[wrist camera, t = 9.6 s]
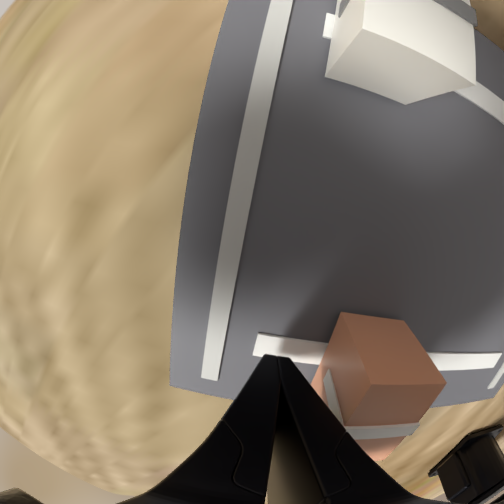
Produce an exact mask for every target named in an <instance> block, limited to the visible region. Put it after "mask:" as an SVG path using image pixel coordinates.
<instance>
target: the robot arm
mask: <svg viewBox="0 0 504 504" xmlns="http://www.w3.org/2000/svg"><path fill="white" fill-rule="evenodd" d="M502 429H503V426H502V425H499V426H497V427H494V428H491V429H488V430H485V431H482V432H478V433H475V434H472V435H469V436H467V437H466V438H464V439H463V440H462V441H461V443H460V444H459V445H458V446H457V447H456V448H455V449H454V450H453V451H452V452H451V453H450V454H449V455H448V456H447V457H446V458H444V459H443V460H442V461H441V462H440V463H439V464H438V465H437V466H436V467H435V468H434V469H432V470H431V471H430V472H429V473H428V476H429V477H433V476H436V475H439V478H440V481H441V483H442V486H443V489H444V491H445V494H446V497H447V500H449V501H450V502H443V501H436V500H430V499H425V498H421V497H418V496H415V495H413V494H411V493H410V492H408V491H407V490H405V489H404V488H403V487H402V486H401V485H400V484H398V483H397V482H396V481H395V480H394V479H393V478H392V477H391V476H390V475H388V474H387V473H386V472H385V471H384V470H383V469H382V468H381V467H380V466H379V465H378V464H377V463H376V462H375V461H374V460H373V459H372V458H371V457H370V456H369V455H368V454H367V453H366V452H365V451H364V450H363V449H362V448H361V447H360V446H359V445H358V443H357V442H356V441H355V440H354V439H353V437H352V436H351V435H350V434H349V433H348V432H346V429H345V428H344V426H343V425H342V424H341V423H340V421H339V420H338V419H337V418H336V416H335V415H334V414H333V413H332V411H331V410H330V409H329V408H328V406H327V405H326V404H325V403H324V401H323V400H322V399H321V397H320V396H319V395H318V394H317V392H316V391H315V390H314V388H313V387H312V386H311V385H310V383H309V382H308V381H307V379H306V378H305V377H304V375H303V374H302V373H301V371H300V370H299V369H298V368H297V366H296V365H295V364H294V362H293V361H292V360H291V358H289V357H284V356H276V355H271V354H264V355H263V356H262V358H261V360H260V361H259V363H258V364H257V366H256V367H255V369H254V371H253V372H252V374H251V375H250V377H249V378H248V380H247V381H246V383H245V384H244V386H243V387H242V389H241V391H240V392H239V394H238V395H237V396H236V398H235V399H234V401H233V402H232V404H231V405H230V407H229V408H228V410H227V411H226V413H225V414H224V416H223V417H222V418H221V420H220V421H219V422H218V424H217V425H216V427H215V428H214V429H213V431H212V432H211V433H210V435H209V436H208V437H207V438H206V440H205V441H204V442H203V443H202V444H201V445H200V446H199V447H198V448H197V449H196V450H195V451H194V452H193V453H192V454H191V455H190V456H189V457H188V458H187V459H186V460H185V461H184V462H183V463H182V464H180V465H179V466H178V467H177V468H176V469H175V470H174V471H173V472H172V473H170V474H169V475H168V476H167V477H166V478H165V479H164V480H162V481H161V482H160V483H158V484H157V485H156V486H154V487H153V488H152V489H150V490H148V491H147V492H145V493H143V494H141V495H138V496H136V497H133V498H131V499H128V500H125V501H122V502H120V503H117V504H265V497H266V492H267V494H268V504H484V503H486V502H487V501H488V500H490V499H491V498H493V497H494V496H496V495H497V494H498V493H500V492H501V491H502V490H504V455H503V453H502V451H501V449H500V447H499V445H498V443H497V442H496V440H495V437H496V436H497V435H498V434H499V433H500V432H501V431H502ZM0 504H43V503H42V502H40V501H39V500H37V499H35V498H34V497H32V496H30V495H29V494H27V493H26V492H24V491H22V490H21V489H19V488H12V489H9V490H6V491H3V492H0ZM490 504H504V494H502V495H501V496H500V497H498V498H497V499H496V500H494V501H493V502H491V503H490Z"/></svg>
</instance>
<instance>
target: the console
mask: <svg viewBox="0 0 504 504" xmlns="http://www.w3.org/2000/svg"><path fill="white" fill-rule="evenodd" d="M336 5H337V0H229V1H228V5H227V8H226V11H225V14H224V18H223V21H222V25H221V28H220V32H219V35H218V39H217V42H216V46H215V50H214V54H213V58H212V62H211V66H210V70H209V74H208V78H207V82H206V87H205V91H204V95H203V100H202V105H201V109H200V114H199V119H198V124H197V129H196V134H195V140H194V145H193V151H192V156H191V162H190V168H189V174H188V180H187V187H186V193H185V200H184V207H183V215H182V222H181V230H180V239H179V247H178V257H177V266H176V277H175V288H174V301H173V315H172V332H171V354H170V386H173V387H177V388H181V389H185V390H189V391H193V392H198V393H202V394H207V395H211V396H216V397H221V398H227V399H232V400H234V399H235V398H236V396H237V395H238V394H239V392H240V391H241V389H242V387H243V386H244V384H245V383H246V381H247V380H248V378H249V377H250V375H251V374H252V372H253V371H254V369H255V367H256V366H257V364H258V363H259V361H260V360H261V358H262V356H263V355H264V354H271V355H276V356H284V357H289V358H291V360H292V361H293V362H294V364H295V365H296V366H297V368H298V369H299V370H300V371H301V373H302V374H303V375H304V377H305V378H306V379H307V381H308V382H309V383H310V385H311V382H312V380H313V378H314V376H315V374H316V371H317V369H318V367H319V365H320V362H321V360H322V358H323V355H324V353H325V351H326V348H327V346H328V343H329V341H330V338H331V336H332V333H333V331H334V328H335V326H336V323H337V321H338V318H339V315H340V313H341V312H346V313H353V314H360V315H367V316H374V317H381V318H388V319H396V320H404V321H405V323H406V324H407V325H408V327H409V328H410V330H411V331H412V332H413V334H414V335H415V337H416V338H417V339H418V341H419V342H420V344H421V345H422V346H423V348H424V349H425V351H426V352H427V354H428V355H429V357H430V358H431V360H432V361H433V363H434V364H435V366H436V367H437V369H438V370H439V372H440V373H441V375H442V376H443V378H444V379H445V381H446V382H447V384H446V385H445V387H444V388H443V390H442V391H441V393H440V394H439V395H438V397H437V398H436V400H435V401H434V402H433V404H432V405H431V406H430V408H433V407H441V406H449V405H456V404H463V403H469V402H474V401H480V400H485V399H490V398H494V396H495V395H496V393H497V392H498V391H499V389H500V388H501V386H502V385H503V383H504V51H503V50H502V49H500V48H499V47H498V46H497V45H495V44H494V43H493V42H492V41H490V40H489V39H488V38H487V37H485V36H484V35H483V34H481V33H480V32H478V31H477V30H476V29H474V39H475V56H476V85H475V86H471V87H467V88H463V89H459V90H455V91H451V92H447V93H444V94H440V95H437V96H433V97H430V98H426V99H423V100H419V101H416V102H413V103H410V104H407V105H404V104H402V103H400V102H397V101H395V100H392V99H390V98H387V97H385V96H382V95H379V94H377V93H374V92H371V91H368V90H365V89H363V88H360V87H357V86H354V85H350V84H347V83H344V82H341V81H337V80H334V79H330V78H327V77H325V72H326V67H327V61H328V55H329V49H330V43H331V37H332V31H333V25H334V18H335V12H336Z"/></svg>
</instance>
